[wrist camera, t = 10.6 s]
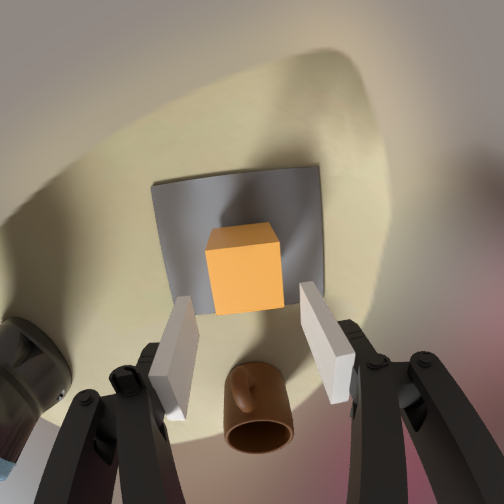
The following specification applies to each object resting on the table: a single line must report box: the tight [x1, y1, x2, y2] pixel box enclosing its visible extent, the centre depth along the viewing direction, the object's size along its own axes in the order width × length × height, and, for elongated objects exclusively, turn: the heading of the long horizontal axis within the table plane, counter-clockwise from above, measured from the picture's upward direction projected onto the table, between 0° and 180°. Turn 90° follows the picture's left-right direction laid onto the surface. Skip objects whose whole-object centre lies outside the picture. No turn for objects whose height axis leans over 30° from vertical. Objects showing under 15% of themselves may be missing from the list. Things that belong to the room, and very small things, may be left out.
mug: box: [224, 362, 294, 454], centre depth 28 cm, size 12×8×9 cm, turn 15°
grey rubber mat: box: [151, 167, 323, 315], centre depth 24 cm, size 16×14×7 cm
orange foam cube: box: [205, 222, 284, 315], centre depth 24 cm, size 5×5×7 cm
